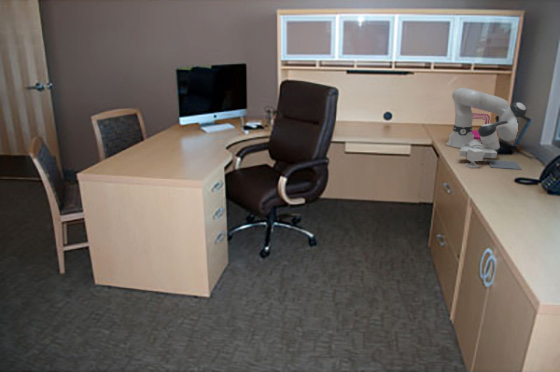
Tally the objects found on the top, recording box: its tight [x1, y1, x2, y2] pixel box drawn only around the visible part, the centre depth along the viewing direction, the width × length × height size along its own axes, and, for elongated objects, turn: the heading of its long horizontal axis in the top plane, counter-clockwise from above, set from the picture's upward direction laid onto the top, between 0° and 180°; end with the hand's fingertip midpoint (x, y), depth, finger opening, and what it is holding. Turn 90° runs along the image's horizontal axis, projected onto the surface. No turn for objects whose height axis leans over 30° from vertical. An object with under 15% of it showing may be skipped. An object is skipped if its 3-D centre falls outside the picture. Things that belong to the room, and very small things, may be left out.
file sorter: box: [472, 112, 491, 141], centre depth 339 cm, size 17×25×16 cm
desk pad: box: [487, 159, 522, 171], centre depth 264 cm, size 16×16×1 cm
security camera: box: [464, 148, 484, 169], centre depth 261 cm, size 6×7×10 cm
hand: (479, 156), depth 260 cm, fingers closed on security camera
